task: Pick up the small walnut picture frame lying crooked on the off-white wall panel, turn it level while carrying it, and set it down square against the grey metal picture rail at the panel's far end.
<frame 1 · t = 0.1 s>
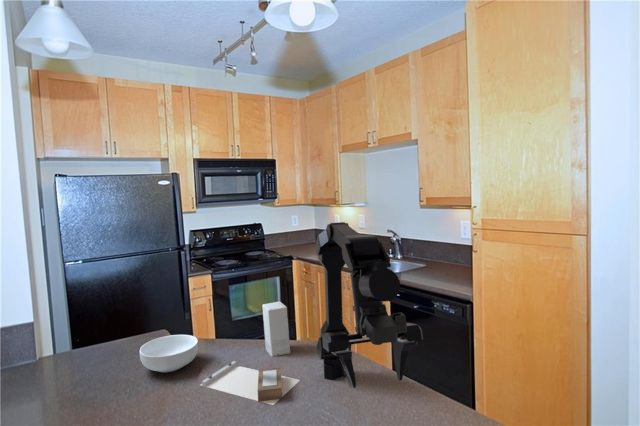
hand: (377, 383, 72), 15 cm above the countertop, tool pointing down, fingers open, 9 cm apart
cereal bowl: (171, 367, 117), on the countertop
skincare box: (277, 352, 124), on the countertop
frame: (270, 388, 100), point 1 cm above the countertop, touching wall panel
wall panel: (250, 385, 104), on the countertop
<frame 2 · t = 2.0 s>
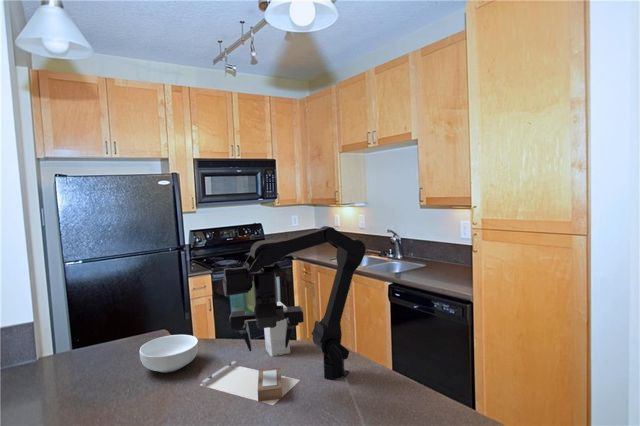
hand: (268, 349, 99), 12 cm above the countertop, tool pointing down, fingers open, 9 cm apart
nothing on the countertop moved.
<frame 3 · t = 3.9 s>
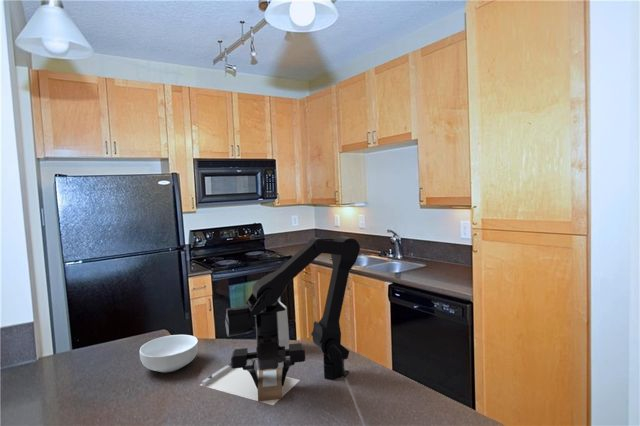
hand: (270, 386, 100), 1 cm above the countertop, tool pointing down, fingers closed on frame, 6 cm apart
frame: (270, 388, 100), point 1 cm above the countertop, touching gripper, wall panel
everything else where it was.
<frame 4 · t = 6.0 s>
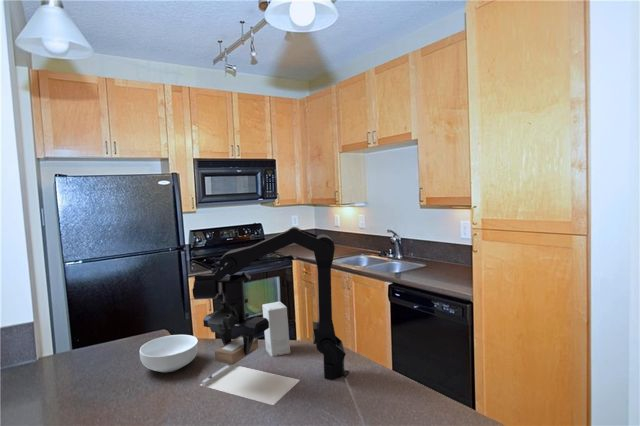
hand: (237, 352, 105), 8 cm above the countertop, tool pointing down, fingers closed on frame, 6 cm apart
frame: (237, 354, 105), point 8 cm above the countertop, touching gripper
everything else where it was.
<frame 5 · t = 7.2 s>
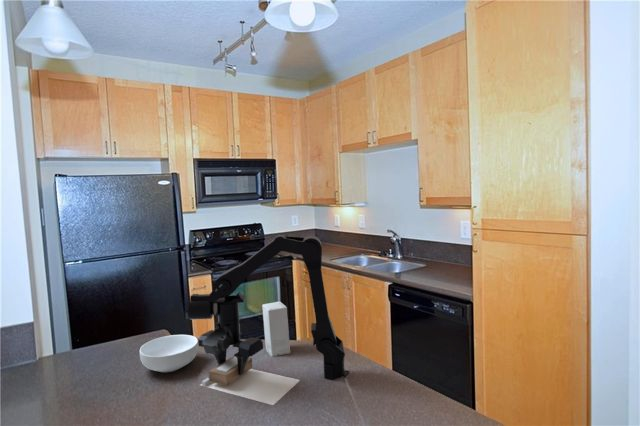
hand: (231, 372, 106), 3 cm above the countertop, tool pointing down, fingers closed on frame, 6 cm apart
frame: (231, 374, 106), point 2 cm above the countertop, touching gripper
everything else where it was.
when the fingers open (2 cm above the countertop, at t = 8.2 s): frame drops 1 cm, resting on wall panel.
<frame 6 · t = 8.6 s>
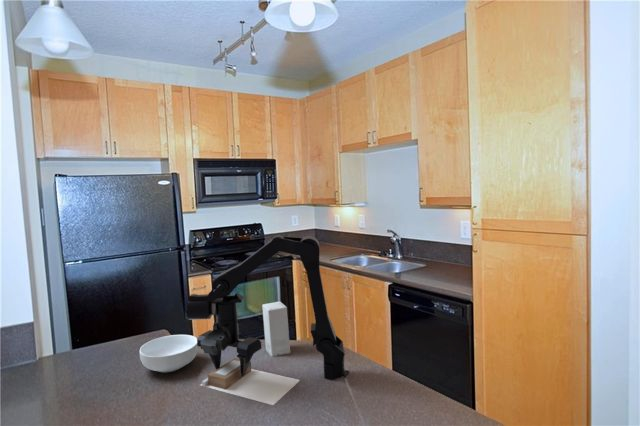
hand: (230, 372, 107), 2 cm above the countertop, tool pointing down, fingers open, 9 cm apart
frame: (230, 377, 107), point 1 cm above the countertop, touching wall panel
everything else where it was.
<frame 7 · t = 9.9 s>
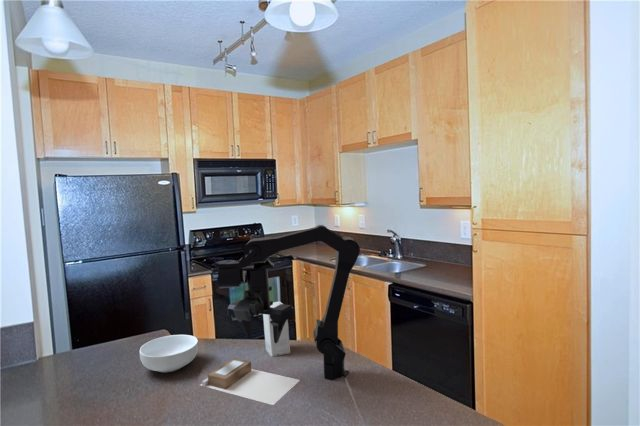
hand: (262, 340, 105), 12 cm above the countertop, tool pointing down, fingers open, 9 cm apart
nothing on the countertop moved.
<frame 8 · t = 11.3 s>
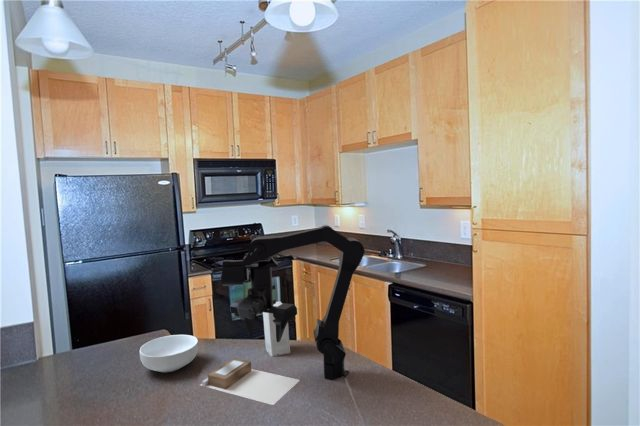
hand: (264, 339, 105), 12 cm above the countertop, tool pointing down, fingers open, 9 cm apart
nothing on the countertop moved.
at the end: frame 0.2 cm from the target spot on the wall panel, point 0.8 cm above the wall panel's base; frame tilted 0°; the gripper is holding nothing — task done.
